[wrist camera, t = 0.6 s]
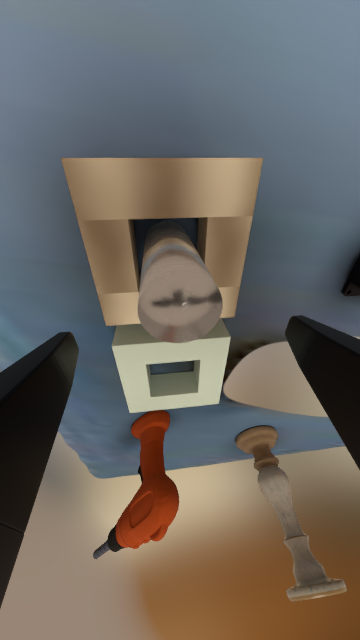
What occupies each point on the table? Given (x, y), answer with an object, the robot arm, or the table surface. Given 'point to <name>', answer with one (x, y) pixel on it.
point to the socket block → (161, 202)
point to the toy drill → (147, 490)
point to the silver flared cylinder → (176, 287)
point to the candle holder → (287, 516)
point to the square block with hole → (173, 388)
